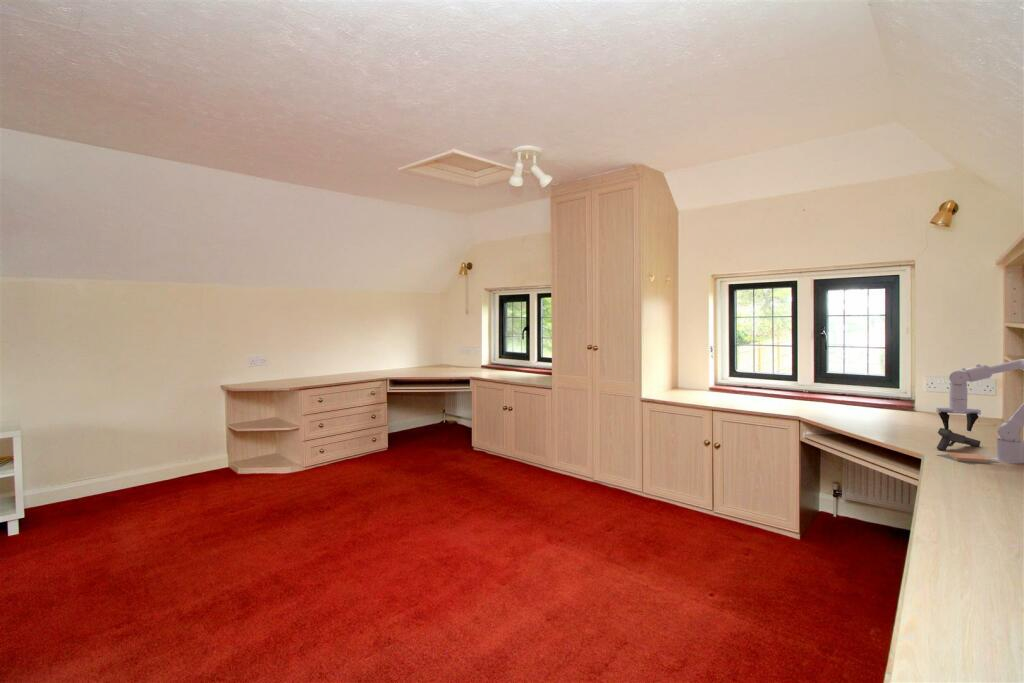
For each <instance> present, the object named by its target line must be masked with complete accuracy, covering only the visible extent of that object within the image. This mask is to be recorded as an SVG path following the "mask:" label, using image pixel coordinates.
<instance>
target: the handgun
mask: <svg viewBox="0 0 1024 683" xmlns="http://www.w3.org/2000/svg"><path fill="white" fill-rule="evenodd" d="M937 434H938V436H941V439H940V440H939V442H938V444H937V446H936V449H937V450H939V451H947V449H948V447H953V446H954V444H957V443H958V444H962V445H966V446H967V445H968V446H971V447H977V448H980V446H981V440H979V439H974V438H971V437H967V436H966V435H964V434H963V435H962V434H959V433H957V432H954V431H952V429H950V428H949V429H948V430H945V429H944V427H943V428H942V427H940V428H939V429H938V431H937Z"/></svg>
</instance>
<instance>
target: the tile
mask: <svg viewBox="0 0 1024 683" xmlns="http://www.w3.org/2000/svg"><path fill="white" fill-rule="evenodd" d="M948 454H949V456H950V457H951V458H953V459H954V460H953V461H955V460H956V461H955V462H958V461H964V462H978V463H985V464H989V463H988V458H986V457H984V456H983V455H980V454H977V453H966V454H965V453H963V452H962V453H961V452H948Z"/></svg>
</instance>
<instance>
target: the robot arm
mask: <svg viewBox="0 0 1024 683" xmlns="http://www.w3.org/2000/svg"><path fill="white" fill-rule="evenodd" d="M1014 370H1021V371H1024V358H1020V359H1019V358H1018V359H1016V360H1011V361H1007V362H1004V363H999V364H996V365H992V366H988V365H987V364H982V365H981V364H980V363H979V364H975V366H973V367H968V368H965V367H963V368H961V369H960V370H954V371H953V372H951V373H950V374H949V377H948V379H949V381H950V382H949V386H950V387H949V396H948V397H949V402H948V404H949V405H948V406H949V407H935V413H938V416H939V417H940V419H941V421H942V424H943V428H944V429H945V430H948V429H949V430H950V428H949V425H950V424H949V421H950V414H960V415H961V414H965V416H966V431H968V432H972V429H973V426H974V424H975V422H976V421H977V420H978V419H979V418H980V417H979V416H980V415H981V413H982V410H981V409H979V408H976V409H974V408H968V382H970V383H972V382H977V381H981V380H982V381H983V380H986V379H990V378H991V377H992V376H993V375H994V374H999V373H1004V372H1010V371H1014ZM1023 428H1024V402H1023V403H1022V404H1020V406H1019V408H1017V410H1016V411H1015V412H1014V413H1013V415H1011V417H1010V418H1008V419H1007V421H1004V422H1002V423H1001V424H1000V425H999V426H998V429H997V434H998V436H997V437H996V457H990V460H994V461H998V462H999V461H1000V462H1003V463H1007V464H1024V440H1023V439H1022V438H1021V437H1020V434H1021V431H1022V429H1023Z"/></svg>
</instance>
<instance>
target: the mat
mask: <svg viewBox="0 0 1024 683" xmlns="http://www.w3.org/2000/svg"><path fill="white" fill-rule="evenodd" d="M965 454H967V453H965ZM936 456H938V457H941V458H944V459H948V460H951V461H954V462H958V463H962V464H967V465H981V464H986V463H978V462H964V461H956V460H954V459H953V458H951V457H950V456H949V453H947V454H946V453H944V454H936ZM987 459H988V458H987ZM996 463H997V464H998V463H1001V461H1000V462H999V461H997V460H994V459H990V458H989V459H988V463H987V464H996Z"/></svg>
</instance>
